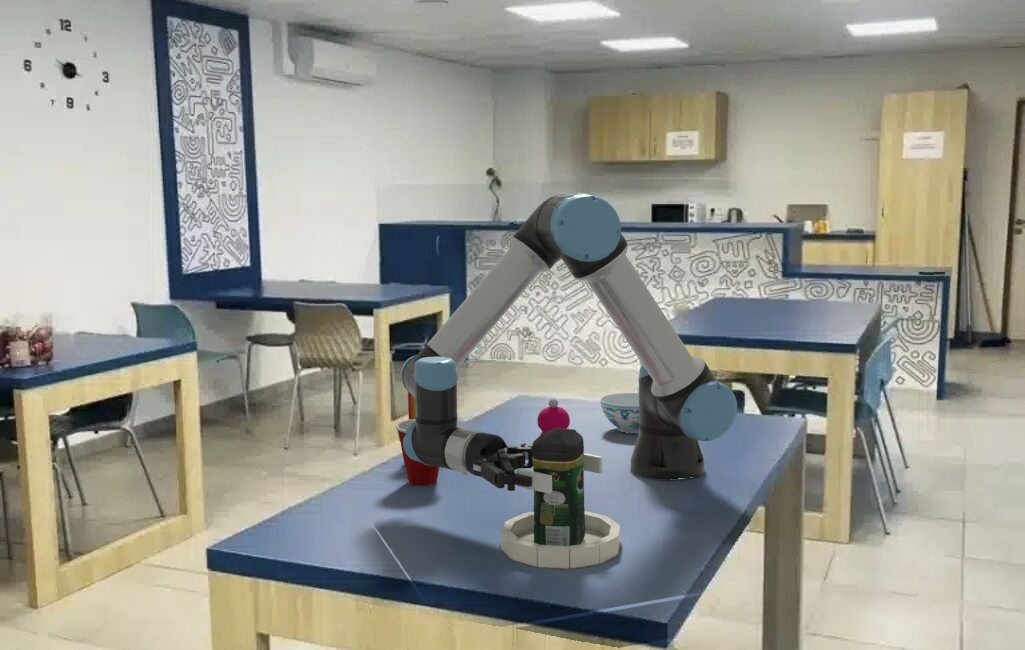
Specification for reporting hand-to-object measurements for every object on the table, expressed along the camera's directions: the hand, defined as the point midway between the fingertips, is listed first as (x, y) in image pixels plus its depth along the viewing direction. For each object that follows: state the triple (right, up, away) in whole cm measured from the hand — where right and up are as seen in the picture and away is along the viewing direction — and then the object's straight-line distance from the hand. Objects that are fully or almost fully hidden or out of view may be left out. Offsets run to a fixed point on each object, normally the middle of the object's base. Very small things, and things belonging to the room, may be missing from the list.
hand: (576, 474), depth 156 cm
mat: (-2, -13, +4) cm, 13 cm away
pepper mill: (-2, -10, +27) cm, 29 cm away
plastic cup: (-28, -8, +42) cm, 51 cm away
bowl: (-2, -12, +4) cm, 13 cm away
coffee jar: (-3, -12, +3) cm, 13 cm away
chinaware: (+19, -2, +82) cm, 84 cm away
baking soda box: (-28, -5, +63) cm, 69 cm away
